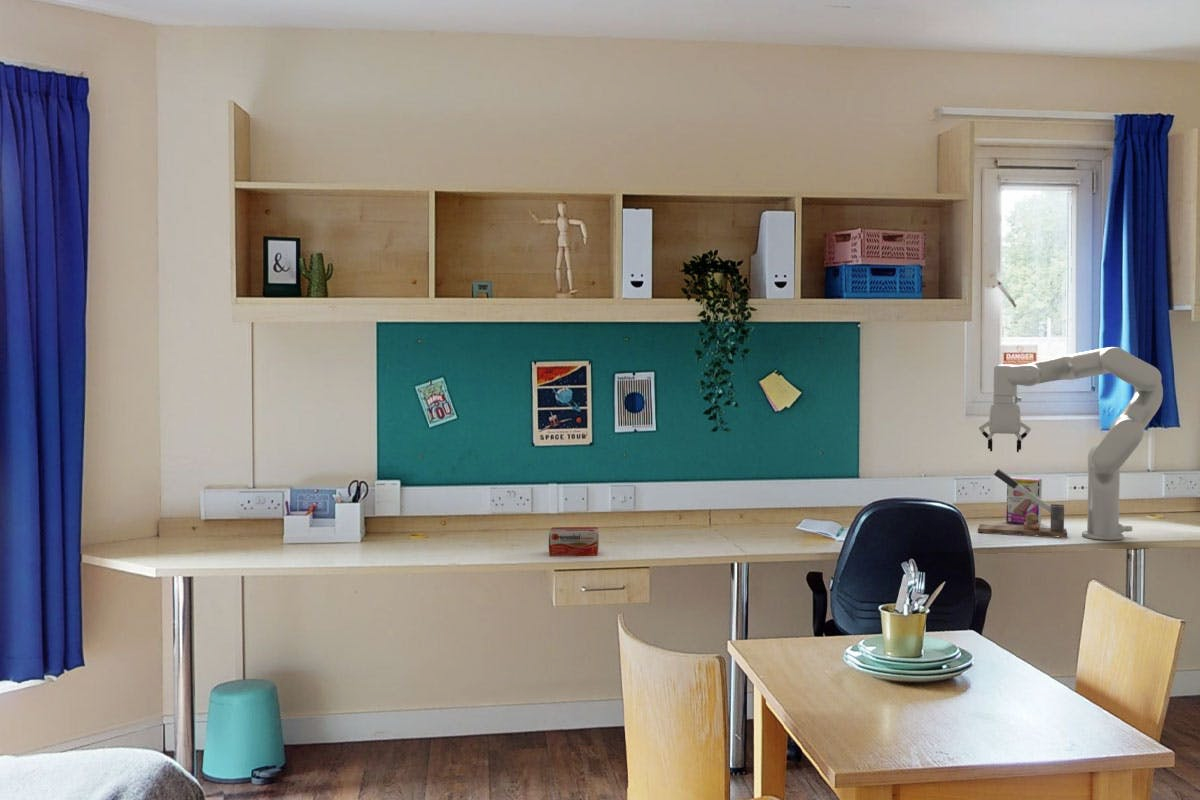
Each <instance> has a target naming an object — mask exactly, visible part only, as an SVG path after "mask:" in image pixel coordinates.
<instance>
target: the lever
mask: <svg viewBox="0 0 1200 800" xmlns="http://www.w3.org/2000/svg"><path fill="white" fill-rule="evenodd" d="M993 475H994V476H995V477H997V478H998V479H999V480H1000V481H1002V482H1004V483H1005V484H1006V485H1007V484H1008V485H1009V486H1011V487H1012V488H1014V489H1015V488H1016V489H1017V490H1018V491H1020V492H1021V493H1023V494H1024V495H1026V496H1027V497H1028V498H1030V499H1031V500H1033V501H1034V502H1036V503H1037V504H1039V505H1040V506H1041V508H1043V510H1046V511H1047V512H1049V513H1050V514H1051V505H1049V504H1048V503H1046V502H1045V501H1044V500H1042V498H1041V499H1039V498H1038V497H1036V496H1035V495H1034V494H1032V493H1031V492H1029V491H1028V490H1026V489H1025V488H1023V487H1022V486H1021V485H1019V484H1018V482H1017V481H1015V480H1014V479H1012V478H1011V477H1012V476H1010V475H1008V474H1007V473H1005V472H1004V471H1002V470H1001V469H1000V468H997V470H996V471H995V472H994V473H993Z"/></svg>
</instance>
